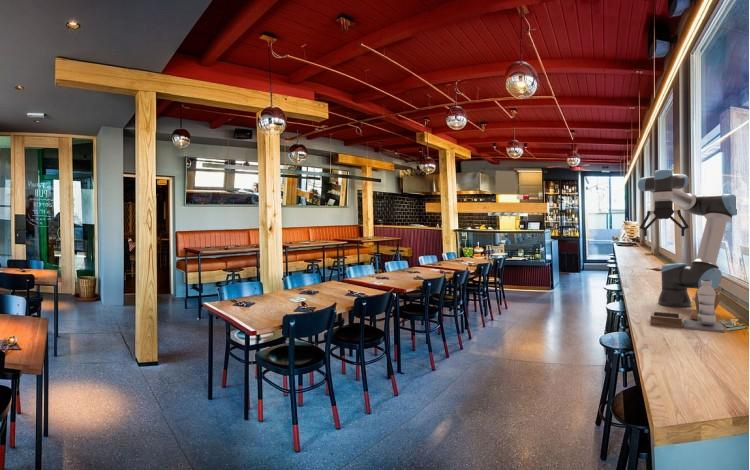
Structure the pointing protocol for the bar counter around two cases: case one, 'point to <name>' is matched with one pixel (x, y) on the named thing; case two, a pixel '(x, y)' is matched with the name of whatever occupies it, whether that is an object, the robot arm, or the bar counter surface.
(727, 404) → the bar counter surface
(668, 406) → the bar counter surface
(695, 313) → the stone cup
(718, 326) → the slate plate
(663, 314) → the walnut holder
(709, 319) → the plastic bottle
